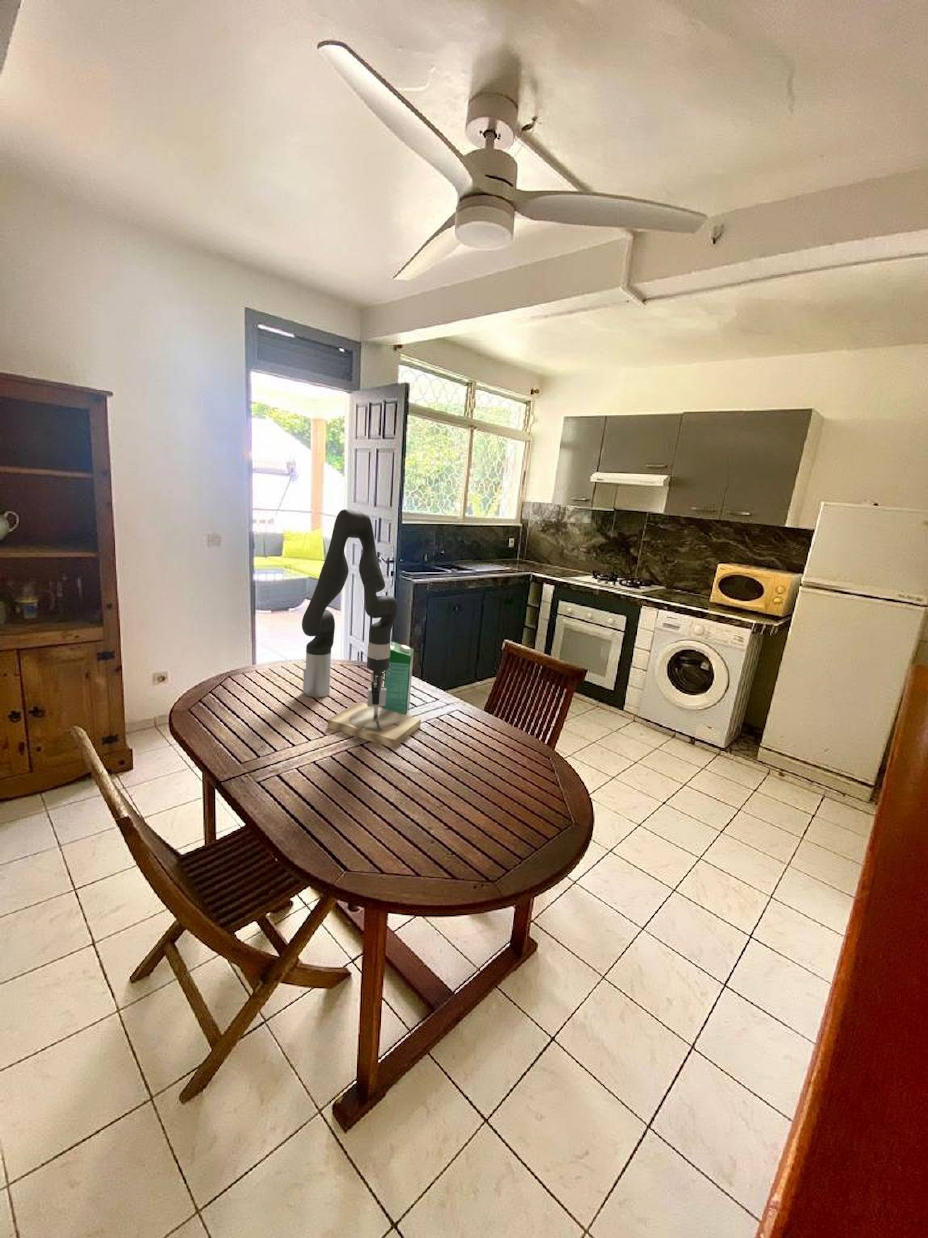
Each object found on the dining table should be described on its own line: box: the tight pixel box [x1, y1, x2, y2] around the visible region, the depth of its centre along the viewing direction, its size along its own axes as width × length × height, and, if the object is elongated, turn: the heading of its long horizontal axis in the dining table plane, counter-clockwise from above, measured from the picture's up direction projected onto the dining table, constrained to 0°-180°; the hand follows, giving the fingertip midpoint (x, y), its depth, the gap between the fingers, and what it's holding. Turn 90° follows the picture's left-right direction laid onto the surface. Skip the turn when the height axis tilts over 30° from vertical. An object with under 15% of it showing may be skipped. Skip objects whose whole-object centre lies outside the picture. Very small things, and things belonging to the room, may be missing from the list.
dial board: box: [327, 701, 422, 749], centre depth 171 cm, size 26×18×3 cm
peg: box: [366, 687, 386, 729], centre depth 166 cm, size 10×6×11 cm, turn 17°
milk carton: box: [382, 640, 415, 715], centre depth 186 cm, size 9×9×25 cm
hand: (376, 702), depth 170 cm, fingers closed on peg, 2 cm apart
